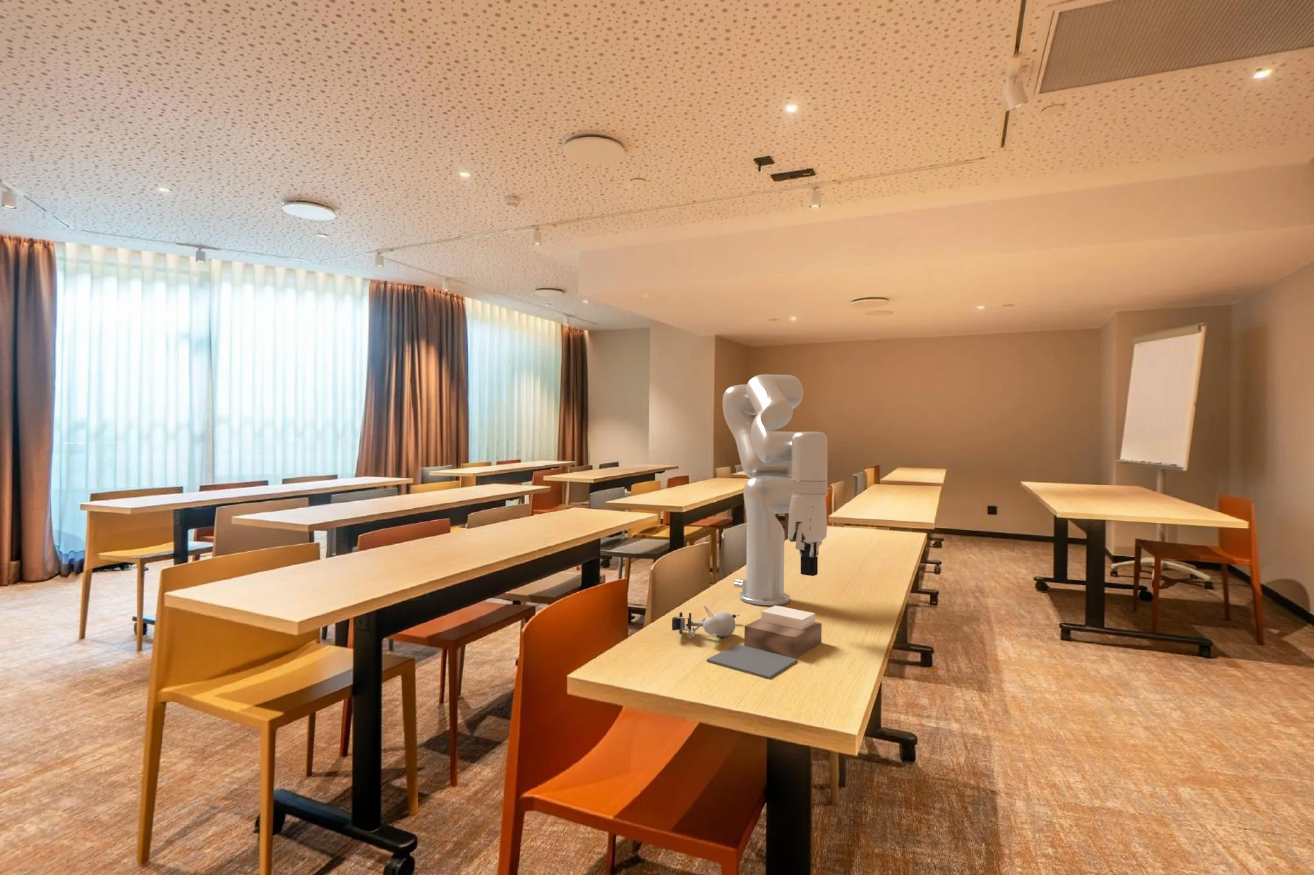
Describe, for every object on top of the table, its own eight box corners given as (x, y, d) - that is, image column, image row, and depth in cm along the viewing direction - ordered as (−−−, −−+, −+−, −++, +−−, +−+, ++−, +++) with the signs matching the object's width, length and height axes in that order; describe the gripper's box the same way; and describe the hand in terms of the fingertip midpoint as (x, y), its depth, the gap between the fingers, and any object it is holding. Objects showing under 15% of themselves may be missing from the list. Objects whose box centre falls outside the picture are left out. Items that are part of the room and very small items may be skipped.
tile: (761, 621, 129) (761, 611, 129) (775, 614, 133) (775, 605, 133) (802, 630, 123) (802, 620, 123) (814, 623, 128) (815, 613, 128)
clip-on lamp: (699, 632, 143) (666, 637, 127) (699, 604, 145) (667, 604, 129) (748, 635, 138) (721, 640, 122) (748, 605, 140) (721, 606, 124)
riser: (744, 645, 125) (744, 625, 125) (772, 631, 135) (773, 612, 135) (795, 658, 118) (795, 637, 118) (821, 642, 128) (821, 623, 128)
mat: (706, 661, 116) (706, 659, 116) (737, 646, 125) (737, 644, 125) (769, 679, 108) (769, 676, 108) (797, 661, 117) (797, 659, 117)
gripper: (807, 487, 143) (807, 567, 143) (777, 489, 131) (776, 577, 131) (839, 488, 138) (839, 571, 138) (810, 491, 127) (810, 582, 126)
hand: (809, 574), depth 134 cm, fingers closed
